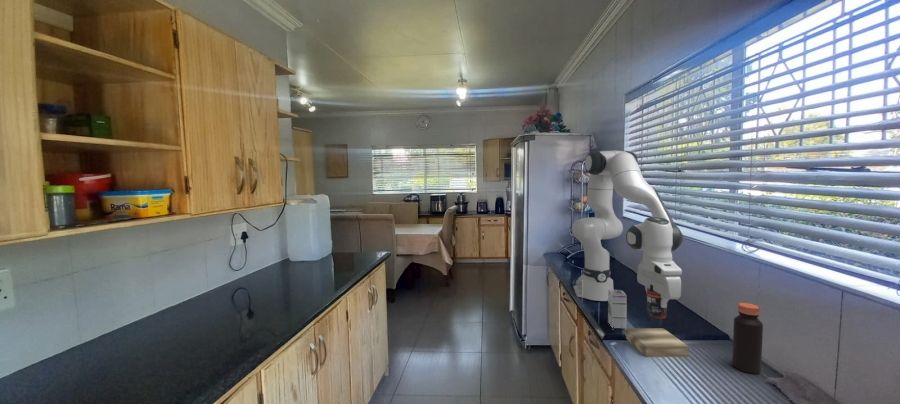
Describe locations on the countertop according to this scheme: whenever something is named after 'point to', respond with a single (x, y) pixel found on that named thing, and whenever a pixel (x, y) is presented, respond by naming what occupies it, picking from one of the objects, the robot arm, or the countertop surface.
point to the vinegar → (747, 339)
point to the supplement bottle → (655, 305)
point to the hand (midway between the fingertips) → (656, 303)
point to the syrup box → (617, 309)
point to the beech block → (656, 342)
